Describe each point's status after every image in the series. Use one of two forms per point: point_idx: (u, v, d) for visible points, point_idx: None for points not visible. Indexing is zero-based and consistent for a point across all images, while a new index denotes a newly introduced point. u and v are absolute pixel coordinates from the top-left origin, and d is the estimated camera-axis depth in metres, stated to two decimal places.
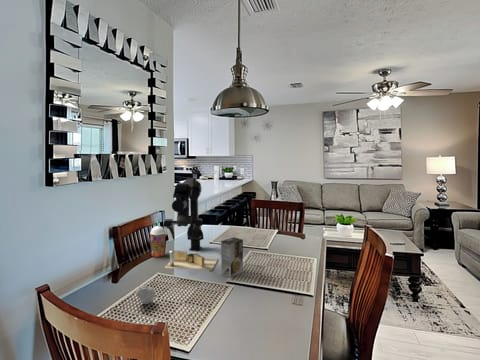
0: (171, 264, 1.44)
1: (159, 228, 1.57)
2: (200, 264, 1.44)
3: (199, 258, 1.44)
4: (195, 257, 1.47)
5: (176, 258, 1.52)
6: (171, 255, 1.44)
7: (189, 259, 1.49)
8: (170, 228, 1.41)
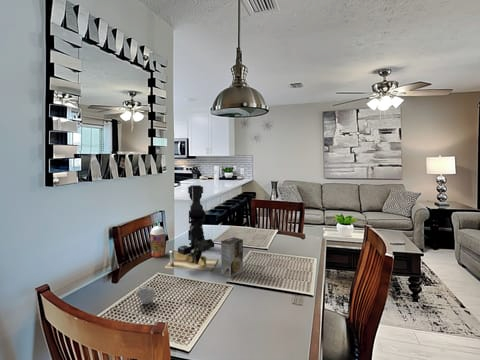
0: (171, 264, 1.44)
1: (159, 228, 1.57)
2: (202, 264, 1.44)
3: (201, 258, 1.45)
4: None
5: (176, 258, 1.52)
6: (171, 255, 1.44)
7: (189, 259, 1.49)
8: (197, 253, 1.41)
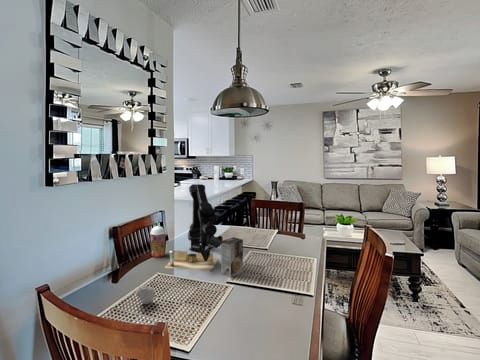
0: (171, 264, 1.44)
1: (159, 228, 1.57)
2: (210, 259, 1.50)
3: None
4: (201, 255, 1.51)
5: (176, 258, 1.52)
6: (171, 255, 1.44)
7: (189, 259, 1.49)
8: (208, 250, 1.45)
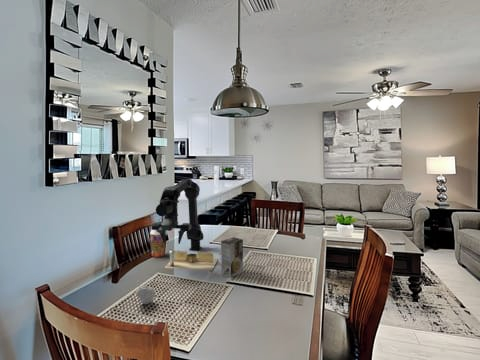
0: (171, 264, 1.44)
1: None
2: (210, 259, 1.50)
3: (208, 254, 1.50)
4: (201, 255, 1.51)
5: (176, 258, 1.52)
6: (171, 255, 1.44)
7: (189, 259, 1.49)
8: (159, 231, 1.42)
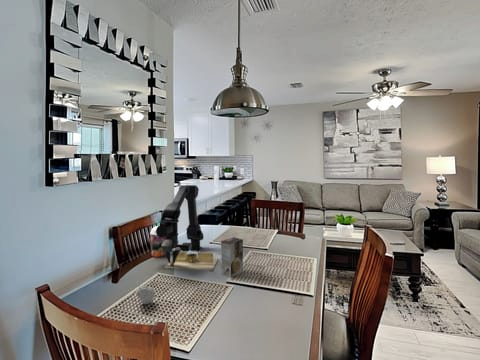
0: (171, 264, 1.44)
1: None
2: (210, 259, 1.50)
3: (208, 254, 1.50)
4: (201, 255, 1.51)
5: None
6: (171, 255, 1.44)
7: (189, 259, 1.49)
8: (165, 252, 1.42)
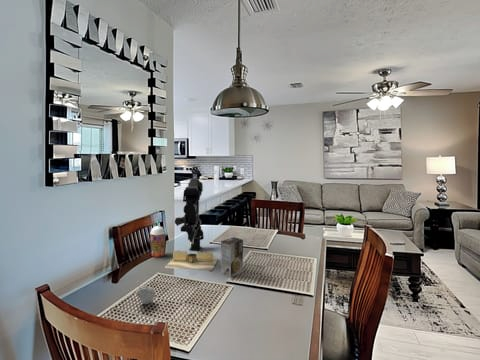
0: None
1: (159, 228, 1.57)
2: (210, 259, 1.50)
3: (208, 254, 1.50)
4: (201, 255, 1.51)
5: (176, 258, 1.52)
6: None
7: (189, 259, 1.49)
8: None
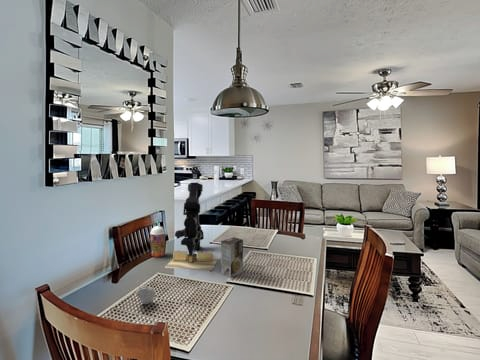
0: None
1: (159, 228, 1.57)
2: (210, 259, 1.50)
3: (208, 254, 1.50)
4: (201, 255, 1.51)
5: (176, 258, 1.52)
6: None
7: (189, 259, 1.49)
8: None
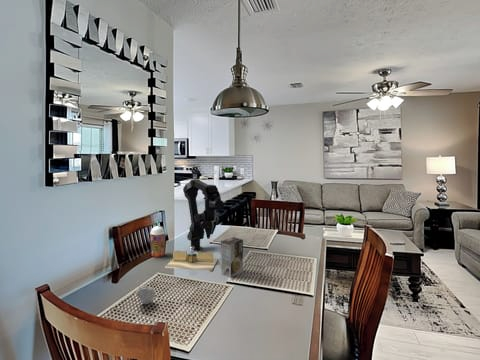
0: None
1: (159, 228, 1.57)
2: (210, 259, 1.50)
3: (208, 254, 1.50)
4: (201, 255, 1.51)
5: (176, 258, 1.52)
6: None
7: (189, 259, 1.49)
8: None
